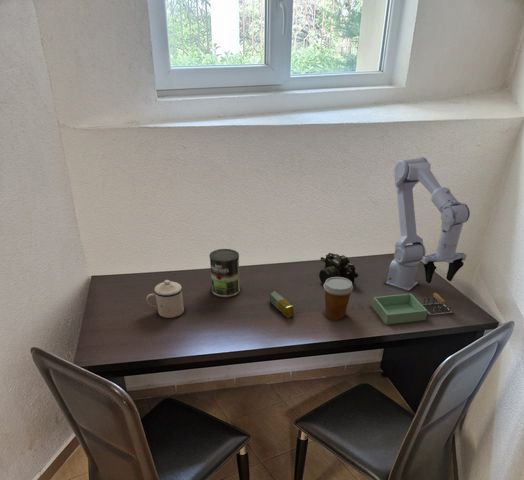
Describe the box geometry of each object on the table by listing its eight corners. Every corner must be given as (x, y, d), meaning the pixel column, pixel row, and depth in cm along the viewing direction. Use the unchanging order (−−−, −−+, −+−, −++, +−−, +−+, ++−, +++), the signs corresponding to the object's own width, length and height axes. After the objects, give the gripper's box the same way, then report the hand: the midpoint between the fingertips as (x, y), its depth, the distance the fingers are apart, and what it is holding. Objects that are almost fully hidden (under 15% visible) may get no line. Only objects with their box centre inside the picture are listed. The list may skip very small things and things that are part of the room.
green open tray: (385, 325, 150) (387, 315, 148) (371, 307, 159) (373, 297, 157) (425, 321, 152) (427, 310, 150) (408, 303, 162) (411, 293, 159)
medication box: (270, 302, 162) (269, 293, 159) (276, 300, 163) (275, 290, 160) (287, 318, 153) (286, 308, 151) (294, 315, 154) (293, 305, 151)
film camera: (305, 280, 175) (307, 256, 169) (324, 269, 183) (326, 245, 177) (345, 295, 166) (348, 270, 160) (363, 283, 174) (366, 258, 168)
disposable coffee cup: (331, 325, 150) (334, 292, 143) (315, 311, 157) (318, 280, 150) (355, 318, 154) (359, 285, 147) (338, 305, 160) (342, 273, 153)
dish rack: (429, 316, 155) (432, 303, 152) (419, 306, 160) (422, 293, 157) (452, 313, 156) (456, 300, 153) (442, 303, 161) (445, 290, 158)
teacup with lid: (184, 303, 161) (180, 273, 154) (184, 317, 154) (181, 286, 147) (149, 306, 159) (144, 276, 153) (148, 320, 152) (142, 289, 145)
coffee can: (232, 299, 164) (231, 262, 155) (207, 294, 167) (204, 257, 158) (244, 286, 171) (243, 251, 163) (219, 281, 174) (217, 246, 166)
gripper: (433, 249, 143) (424, 288, 151) (475, 246, 145) (464, 284, 153) (422, 240, 148) (414, 278, 156) (463, 237, 151) (453, 274, 159)
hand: (438, 280), depth 155 cm, fingers open, 7 cm apart
